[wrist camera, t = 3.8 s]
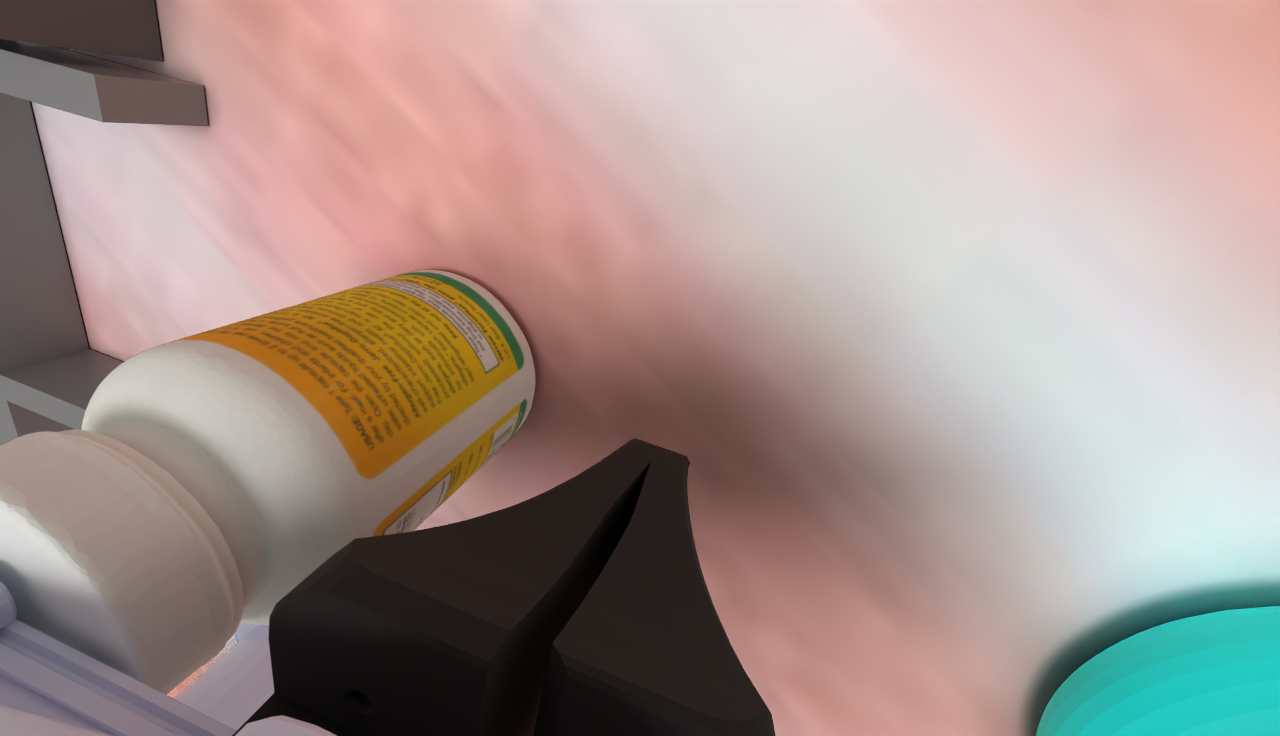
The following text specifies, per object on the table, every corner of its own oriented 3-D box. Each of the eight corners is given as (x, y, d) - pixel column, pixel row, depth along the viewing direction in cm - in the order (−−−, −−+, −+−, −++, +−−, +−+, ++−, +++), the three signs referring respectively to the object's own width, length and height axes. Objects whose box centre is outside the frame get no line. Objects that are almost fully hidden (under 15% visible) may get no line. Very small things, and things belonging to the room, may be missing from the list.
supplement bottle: (546, 456, 16) (237, 817, 7) (390, 429, 17) (-27, 707, 9) (536, 272, 14) (89, 472, 5) (360, 257, 15) (-224, 398, 7)
